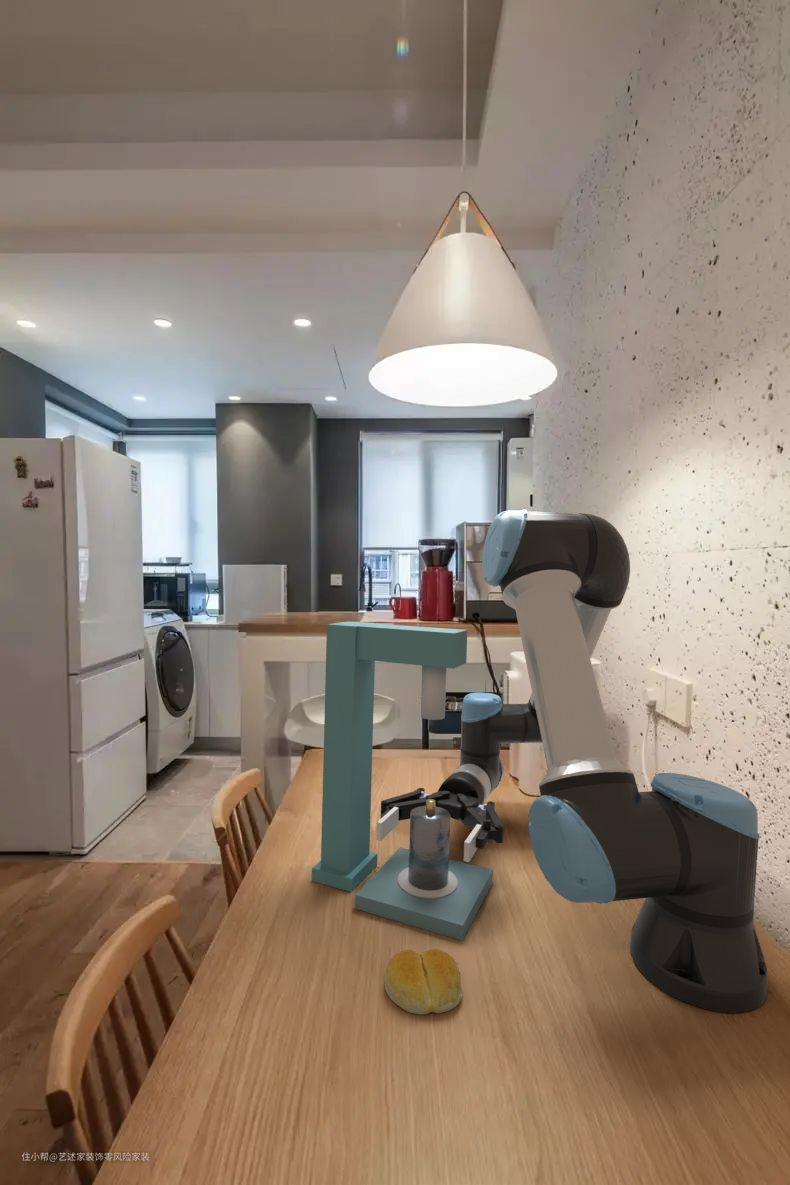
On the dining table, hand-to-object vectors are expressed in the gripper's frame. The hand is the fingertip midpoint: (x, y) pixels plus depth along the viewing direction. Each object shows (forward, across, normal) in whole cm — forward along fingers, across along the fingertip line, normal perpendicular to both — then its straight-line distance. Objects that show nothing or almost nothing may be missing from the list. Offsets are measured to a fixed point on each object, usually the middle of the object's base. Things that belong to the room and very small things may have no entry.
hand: (421, 841), depth 83 cm
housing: (-3, 0, -7) cm, 8 cm away
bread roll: (+15, -7, -10) cm, 19 cm away
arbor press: (-3, +5, -9) cm, 11 cm away
